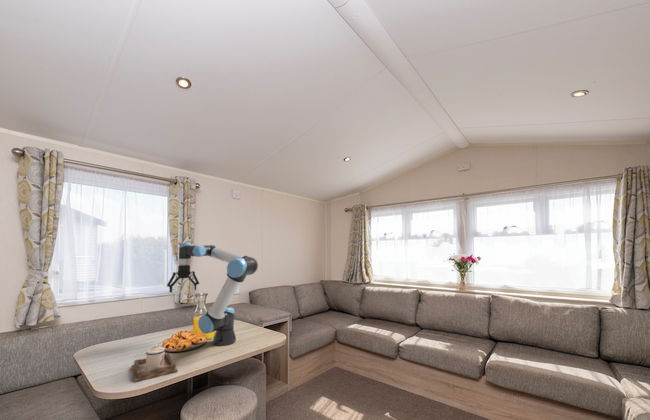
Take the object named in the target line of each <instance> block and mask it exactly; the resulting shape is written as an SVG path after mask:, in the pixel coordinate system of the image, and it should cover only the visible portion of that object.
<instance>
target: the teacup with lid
mask: <svg viewBox="0 0 650 420" xmlns="http://www.w3.org/2000/svg"><path fill="white" fill-rule="evenodd" d="M165 354H166V348H165V347H163V346H159V344H155V345H153V347H151V348H148V350H146V351H145V355H146V356H145V358H146V370H150V369H154V368H159V367H163V366H164V356H165Z"/></svg>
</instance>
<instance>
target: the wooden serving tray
mask: <svg viewBox="0 0 650 420" xmlns="http://www.w3.org/2000/svg"><path fill="white" fill-rule="evenodd" d="M178 370H179V369H178V368H177V366H176V363H175V362H174V360H173V358H172V357H171V355H170V353H165V356H164V366H163V367H159V368H154V369H150V370H146V357H145V358H140V359H135V360H134V361H133V364H132V365H131V371H132V375H133V379H134V383H138V382H142V381H147V380H151V379H155V378H160V377H164V376H168V375H172V374H177V373H178Z"/></svg>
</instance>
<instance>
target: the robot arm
mask: <svg viewBox="0 0 650 420" xmlns="http://www.w3.org/2000/svg"><path fill="white" fill-rule="evenodd" d="M191 257H196V258H197V257H198V258H200V257H211V258H214V259H216V260H218V261H219V260H220V261H221V262H225V263H228V264H227V266H226V276H227V278H226V280H225V282H224V284H223V286H222V287H221V289H220V291H219V292H218V294H217V297H216V298H215V301H214V303H213V304H212V306H210V307H209V308H208V309H207V310H206V312H205V314H203V315H201V316H200V317H198V318H199V319H198V322H197V325H198V329H199V330H200V331H201V332H202V333H203V334H207V335H208V334H212V333H214V332H215V333H214V336H213V338H212V344H213V345H214V346H218V345H219V347H221V346H222V345H223V346H229V345H232V344H235V343H236V342H235V341H237V338H236V334H235V329H234V328H235V327H234V326H235V308H234V307H228V306H229V304H230V302H231V301H232V298H233V296H234V295H235V293H236V291H237V289H238V288H239V286H240V284H242V283H243V282H244V281H245V279H246V278H247V276H252V275H253V274H255V273H256V272H257V270H258V267H259V265H258V264H259V263H258V261H257V260H256V259H255V258H254V257H251V256H248V255H241V254H237V253H234V252H231V251H228V250H226V249H222V248H219V247H218V246H217V245H214V244H213V245H212V244H210V245H192V243H191V242H179V248H178V268H177V272H176V271H175V272H172V276H171V277H170V279H169V281H168V283H167V284H166V287H167V288H168V287H169V293H170V297H171V298H173V297H174V286H175V284H176V283H177V282H178V281H179V280H180V279H188V280H189V281H190V282H191V283H192V289H191V290H192V294H191V295H192V296H195V291H196V290H197V285H200V281H199V280H198V277H197V276H196V272H195V271H194V270H192V271H191ZM190 275H192V277H193V278H192V277H191V276H190ZM175 277H176V278H175ZM174 278H175V280H174ZM193 279H194V280H193ZM223 346H222V347H223Z"/></svg>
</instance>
